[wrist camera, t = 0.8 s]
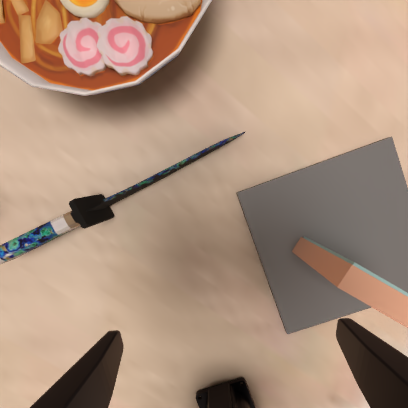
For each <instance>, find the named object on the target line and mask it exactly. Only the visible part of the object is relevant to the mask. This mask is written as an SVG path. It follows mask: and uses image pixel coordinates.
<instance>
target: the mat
mask: <svg viewBox="0 0 408 408" xmlns="http://www.w3.org/2000/svg"><path fill="white" fill-rule="evenodd" d="M237 195H238V198H239V201H240V204H241V207H242V209H243V212H244V215H245V218H246V221H247V223H248V226H249V229H250V232H251V235H252V237H253V240H254V243H255V246H256V249H257V251H258V254H259V257H260V260H261V263H262V266H263V268H264V271H265V274H266V277H267V280H268V282H269V285H270V288H271V291H272V294H273V296H274V299H275V302H276V305H277V308H278V310H279V313H280V316H281V319H282V322H283V325H284V327H285V330H286V333H287V334H290V333H293V332H296V331H299V330H303V329H306V328H309V327H312V326H315V325H318V324H321V323H324V322H327V321H330V320H334V319H337V318H340V317H343V316H346V315H349V314H352V313H355V312H358V311H362V310H365V309H368V308H371V306H369V305H367V304H365V303H364V302H362V301H360V300H358V299H357V298H355V297H353V296H352V295H350V294H348V293H346V292H345V291H343V290H341V289H339V288H338V287H336V286H335V285H334V284H332V283H331V282H330V281H329V280H327V279H326V278H325V277H324V276H322V275H321V274H320V273H318V272H317V271H316V270H315V269H313V268H312V267H311V266H310V265H308V264H307V263H306V262H304V261H303V260H302V259H301V258H299V257H298V256H297V255H296V254H294V253H293V252H292V250H293V249H294V247H295V246H296V244H297V242H298V241H299V239H300V238H301V237H302V238H304V236H305V237H307V238H309V239H311V240H313V241H314V242H316V243H318V244H320V245H322V246H324V247H326V248H328V249H330V250H332V251H334V252H336V253H338V254H340V255H341V256H343V257H345V258H347V259H349V260H351V261H353V262H355V263H357V264H358V265H360V266H362V267H364V268H365V269H367V270H369V271H371V272H372V273H374V274H376V275H377V276H379V277H381V278H383V279H384V280H386V281H388V282H390V283H391V284H393V285H395V286H397V287H398V288H400V289H402V290H403V291H405V292H407V293H408V188H407V184H406V181H405V178H404V175H403V171H402V168H401V165H400V161H399V158H398V155H397V152H396V148H395V145H394V142H393V138H392V137H389V138H386V139H383V140H381V141H378V142H375V143H372V144H370V145H367V146H364V147H361V148H359V149H356V150H353V151H350V152H348V153H345V154H342V155H339V156H337V157H334V158H331V159H328V160H326V161H323V162H320V163H317V164H314V165H312V166H309V167H306V168H303V169H301V170H298V171H295V172H292V173H290V174H287V175H284V176H281V177H279V178H276V179H273V180H270V181H268V182H265V183H262V184H259V185H257V186H254V187H251V188H248V189H246V190H243V191H240V192H237Z"/></svg>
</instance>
